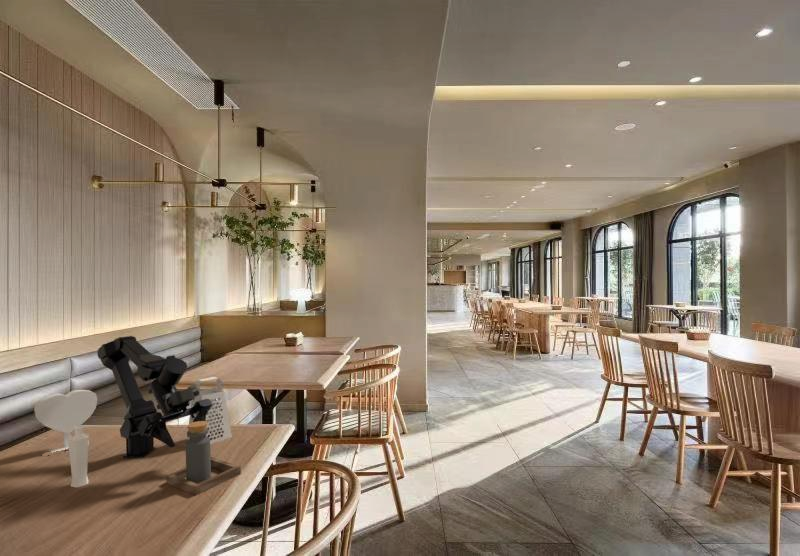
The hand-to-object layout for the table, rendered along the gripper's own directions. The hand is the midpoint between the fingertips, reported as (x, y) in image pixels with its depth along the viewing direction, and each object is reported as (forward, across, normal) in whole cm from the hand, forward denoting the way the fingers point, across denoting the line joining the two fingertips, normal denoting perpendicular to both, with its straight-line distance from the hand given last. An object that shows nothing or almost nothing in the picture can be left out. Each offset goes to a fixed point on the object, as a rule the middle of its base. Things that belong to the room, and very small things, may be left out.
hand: (190, 441), depth 114 cm
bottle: (+11, -2, +2) cm, 11 cm away
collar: (+11, 0, +2) cm, 11 cm away
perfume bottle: (-8, -18, +21) cm, 29 cm away
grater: (-7, +19, +20) cm, 28 cm away
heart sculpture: (-31, -9, +44) cm, 55 cm away
